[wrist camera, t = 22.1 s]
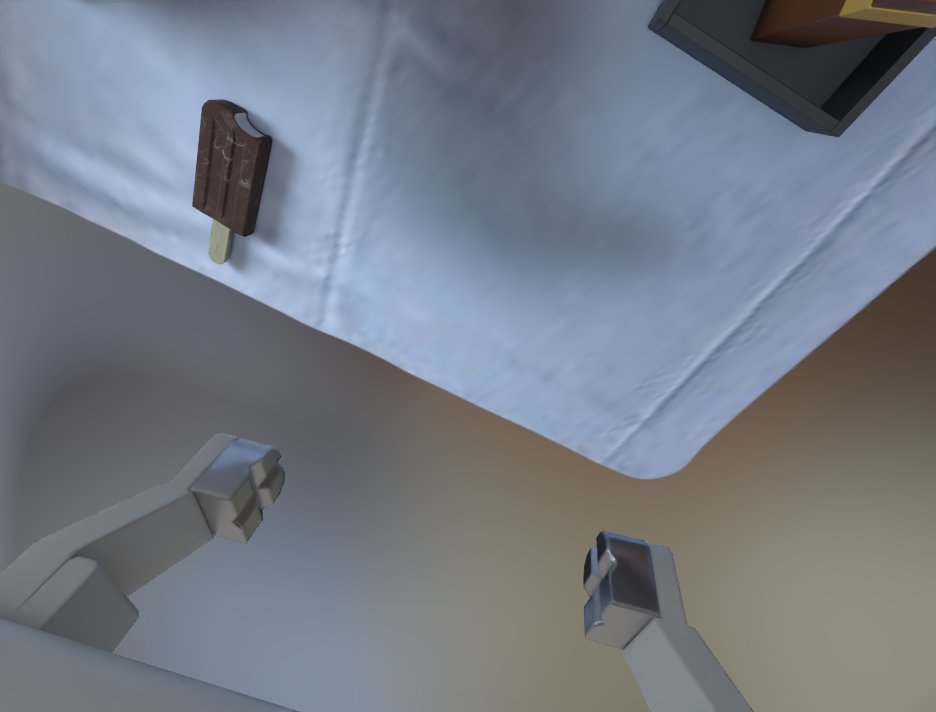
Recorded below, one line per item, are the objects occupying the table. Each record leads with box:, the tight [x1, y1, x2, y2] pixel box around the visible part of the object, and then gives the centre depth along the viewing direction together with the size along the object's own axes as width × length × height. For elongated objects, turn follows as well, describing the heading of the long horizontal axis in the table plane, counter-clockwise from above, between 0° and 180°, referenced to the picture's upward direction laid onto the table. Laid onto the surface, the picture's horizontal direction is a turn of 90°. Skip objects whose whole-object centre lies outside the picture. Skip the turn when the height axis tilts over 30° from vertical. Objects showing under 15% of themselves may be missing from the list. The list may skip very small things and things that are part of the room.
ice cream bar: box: [192, 100, 272, 264], centre depth 37 cm, size 5×2×15 cm
